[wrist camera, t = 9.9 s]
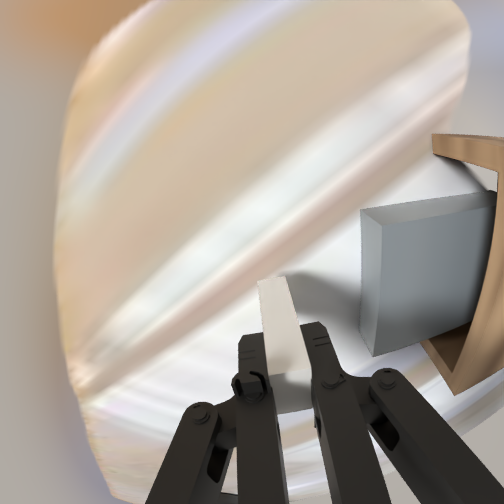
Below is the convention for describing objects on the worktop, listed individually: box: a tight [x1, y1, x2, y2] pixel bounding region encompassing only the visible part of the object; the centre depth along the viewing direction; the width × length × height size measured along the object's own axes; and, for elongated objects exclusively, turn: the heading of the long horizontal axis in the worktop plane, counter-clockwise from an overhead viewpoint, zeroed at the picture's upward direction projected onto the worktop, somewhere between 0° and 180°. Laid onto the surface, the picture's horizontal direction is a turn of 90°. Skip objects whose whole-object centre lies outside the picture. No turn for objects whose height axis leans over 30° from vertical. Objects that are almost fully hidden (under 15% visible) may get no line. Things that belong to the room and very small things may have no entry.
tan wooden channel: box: [420, 134, 504, 396], centre depth 13 cm, size 8×15×7 cm, turn 10°
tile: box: [359, 190, 498, 357], centre depth 15 cm, size 12×9×3 cm
